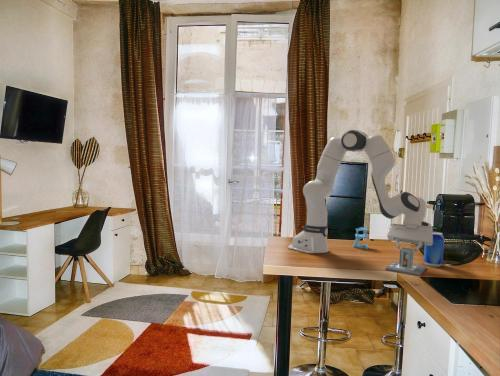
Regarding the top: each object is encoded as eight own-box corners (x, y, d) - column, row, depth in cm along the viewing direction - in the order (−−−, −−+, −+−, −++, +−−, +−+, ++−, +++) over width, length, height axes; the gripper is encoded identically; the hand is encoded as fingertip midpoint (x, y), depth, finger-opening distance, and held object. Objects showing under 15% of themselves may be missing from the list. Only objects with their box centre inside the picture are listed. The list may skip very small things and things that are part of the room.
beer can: (424, 265, 191) (426, 233, 190) (423, 261, 199) (425, 230, 198) (443, 268, 188) (445, 235, 187) (441, 263, 196) (443, 232, 195)
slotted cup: (399, 267, 183) (400, 249, 182) (401, 264, 187) (402, 247, 186) (410, 269, 180) (411, 250, 179) (412, 266, 184) (413, 249, 184)
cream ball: (404, 252, 183) (410, 252, 184) (402, 256, 185) (407, 256, 186) (408, 258, 181) (413, 257, 182) (405, 261, 183) (410, 261, 184)
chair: (352, 245, 233) (353, 225, 232) (367, 246, 231) (368, 226, 231) (353, 248, 226) (354, 227, 225) (368, 249, 224) (369, 228, 223)
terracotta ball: (402, 267, 183) (399, 262, 183) (403, 263, 185) (401, 258, 185) (408, 266, 181) (406, 261, 181) (409, 263, 184) (407, 257, 183)
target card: (385, 269, 181) (385, 267, 181) (393, 263, 194) (393, 260, 194) (419, 276, 173) (420, 273, 173) (426, 268, 186) (426, 266, 186)
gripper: (389, 219, 193) (383, 242, 186) (434, 224, 182) (429, 248, 175) (391, 227, 197) (385, 249, 190) (435, 232, 186) (430, 256, 179)
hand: (406, 249), depth 182 cm, fingers open, 7 cm apart
